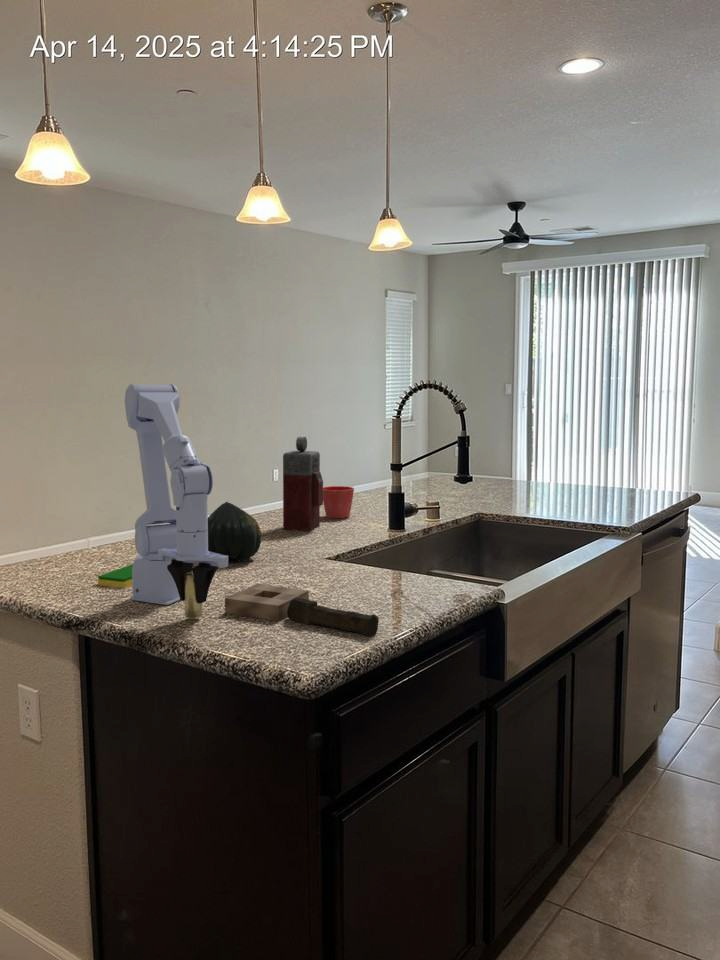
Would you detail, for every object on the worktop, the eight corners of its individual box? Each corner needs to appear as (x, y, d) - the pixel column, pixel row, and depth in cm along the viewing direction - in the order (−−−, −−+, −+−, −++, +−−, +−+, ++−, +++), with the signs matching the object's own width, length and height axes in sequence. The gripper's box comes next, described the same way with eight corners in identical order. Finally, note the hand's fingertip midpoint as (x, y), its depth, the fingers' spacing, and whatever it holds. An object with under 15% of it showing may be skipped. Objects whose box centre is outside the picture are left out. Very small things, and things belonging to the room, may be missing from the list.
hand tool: (380, 634, 143) (380, 609, 142) (368, 640, 139) (368, 614, 139) (296, 616, 153) (296, 593, 152) (283, 621, 150) (283, 597, 149)
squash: (244, 547, 188) (256, 494, 197) (185, 546, 191) (199, 494, 200) (260, 575, 200) (271, 524, 208) (205, 574, 203) (217, 524, 211)
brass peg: (181, 616, 149) (180, 575, 147) (191, 612, 151) (190, 571, 150) (195, 618, 147) (194, 576, 146) (205, 614, 150) (205, 573, 149)
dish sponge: (97, 586, 174) (96, 576, 174) (135, 572, 187) (135, 562, 186) (124, 590, 171) (123, 579, 171) (161, 575, 184) (161, 565, 184)
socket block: (225, 613, 154) (224, 598, 153) (257, 598, 164) (257, 583, 164) (279, 621, 149) (278, 605, 148) (308, 605, 160) (308, 590, 159)
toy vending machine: (318, 531, 237) (318, 438, 234) (282, 529, 240) (282, 437, 237) (326, 526, 246) (327, 436, 242) (292, 524, 249) (292, 435, 245)
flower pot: (316, 515, 266) (316, 486, 265) (346, 513, 271) (346, 485, 270) (328, 520, 257) (328, 490, 255) (359, 518, 261) (359, 489, 260)
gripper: (146, 529, 147) (148, 601, 148) (212, 537, 141) (213, 611, 142) (170, 523, 153) (171, 592, 155) (234, 530, 147) (235, 601, 149)
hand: (193, 600), depth 149 cm, fingers closed on brass peg, 3 cm apart
